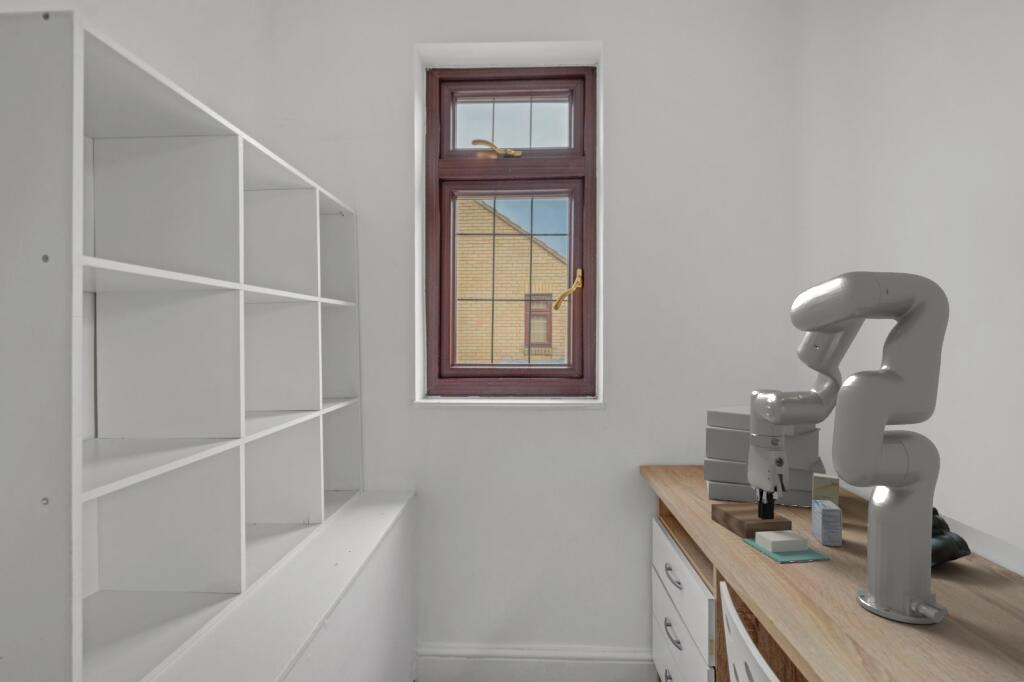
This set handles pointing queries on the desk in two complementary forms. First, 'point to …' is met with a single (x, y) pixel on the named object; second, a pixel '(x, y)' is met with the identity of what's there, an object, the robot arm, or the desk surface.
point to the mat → (788, 553)
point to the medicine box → (827, 522)
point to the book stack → (732, 452)
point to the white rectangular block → (781, 541)
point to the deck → (747, 519)
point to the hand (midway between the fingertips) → (765, 518)
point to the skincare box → (825, 487)
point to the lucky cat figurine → (945, 542)
